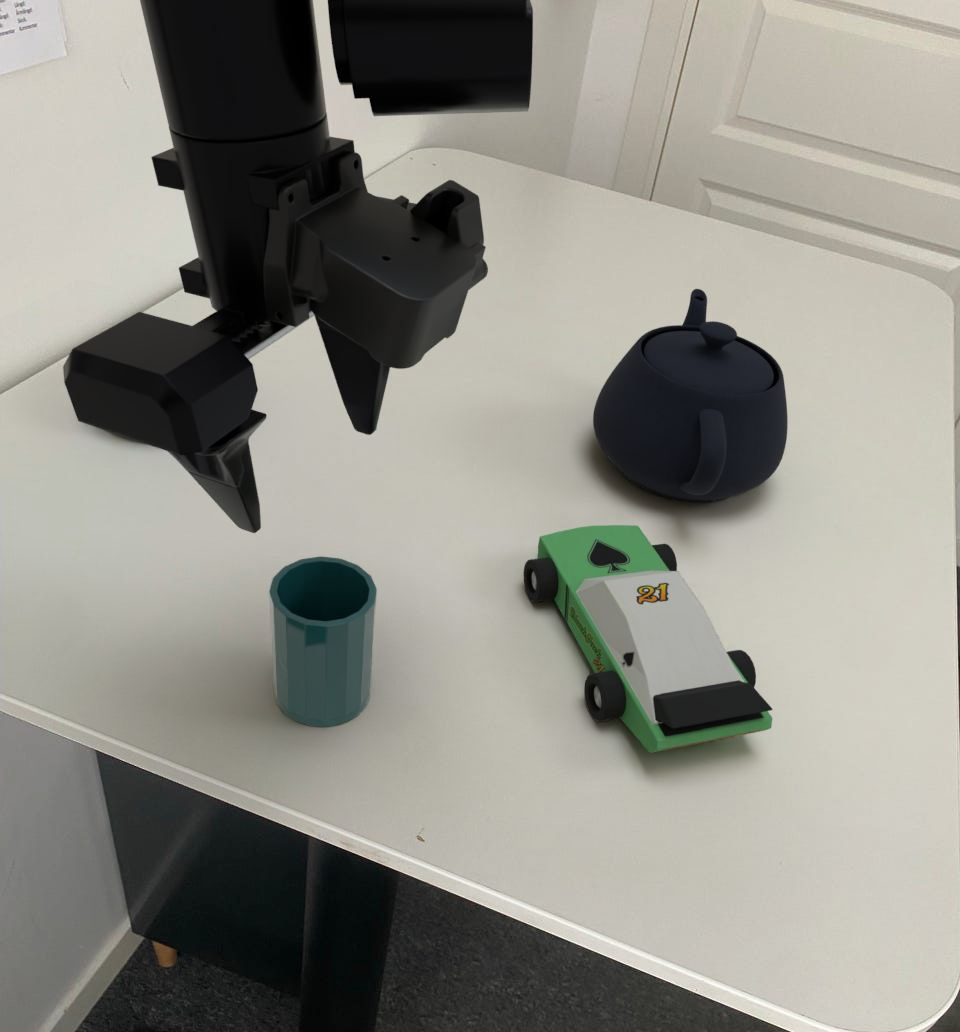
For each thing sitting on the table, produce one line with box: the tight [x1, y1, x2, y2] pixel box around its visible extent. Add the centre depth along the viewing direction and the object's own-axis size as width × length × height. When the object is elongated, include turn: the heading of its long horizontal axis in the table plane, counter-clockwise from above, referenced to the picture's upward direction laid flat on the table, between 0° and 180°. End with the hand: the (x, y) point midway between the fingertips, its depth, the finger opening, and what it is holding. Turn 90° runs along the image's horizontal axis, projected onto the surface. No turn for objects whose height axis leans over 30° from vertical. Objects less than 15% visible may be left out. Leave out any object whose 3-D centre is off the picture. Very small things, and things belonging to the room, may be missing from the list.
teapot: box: [592, 288, 789, 503], centre depth 75 cm, size 25×16×12 cm, turn 174°
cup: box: [268, 555, 378, 728], centre depth 53 cm, size 6×6×8 cm
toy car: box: [523, 524, 773, 754], centre depth 60 cm, size 10×19×5 cm, turn 18°
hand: (311, 477), depth 45 cm, fingers open, 9 cm apart
